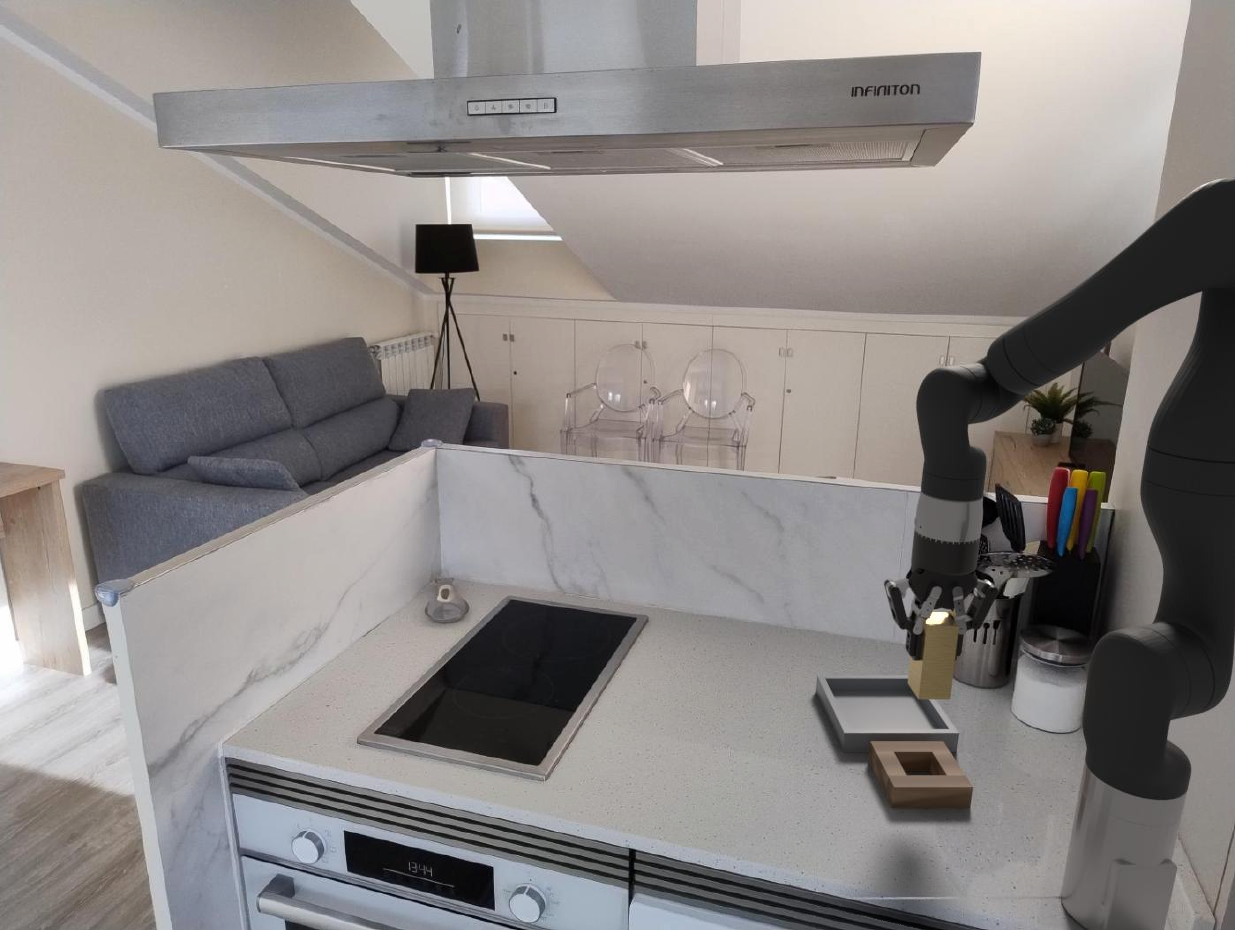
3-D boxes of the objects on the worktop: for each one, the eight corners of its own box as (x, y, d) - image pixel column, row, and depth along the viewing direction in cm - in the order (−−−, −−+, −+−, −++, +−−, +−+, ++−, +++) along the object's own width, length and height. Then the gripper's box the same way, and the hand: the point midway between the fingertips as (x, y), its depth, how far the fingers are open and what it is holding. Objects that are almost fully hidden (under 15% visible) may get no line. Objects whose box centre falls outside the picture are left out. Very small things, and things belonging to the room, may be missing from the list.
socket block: (970, 807, 111) (973, 787, 110) (891, 807, 111) (894, 787, 110) (940, 760, 120) (943, 741, 120) (868, 760, 120) (870, 741, 119)
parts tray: (956, 752, 122) (959, 733, 122) (842, 752, 122) (844, 733, 121) (916, 692, 138) (918, 675, 137) (815, 692, 137) (817, 675, 137)
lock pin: (950, 699, 110) (959, 626, 107) (918, 699, 110) (926, 626, 107) (938, 683, 114) (946, 612, 111) (907, 683, 114) (915, 612, 111)
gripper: (899, 539, 102) (886, 672, 107) (1019, 539, 102) (1001, 672, 107) (879, 519, 109) (867, 644, 114) (992, 519, 110) (976, 644, 114)
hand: (932, 657), depth 110 cm, fingers closed on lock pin, 4 cm apart
